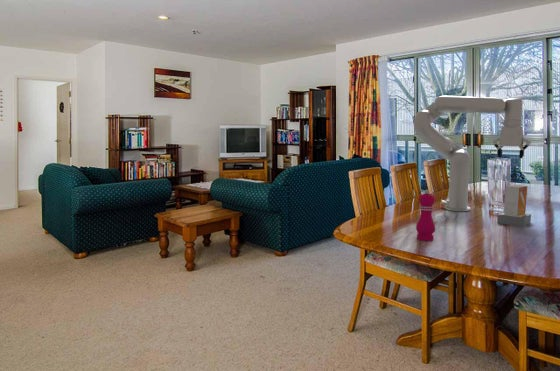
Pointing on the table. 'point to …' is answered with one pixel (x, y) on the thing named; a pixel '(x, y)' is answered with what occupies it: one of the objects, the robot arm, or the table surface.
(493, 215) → the table surface
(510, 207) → the small box
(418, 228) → the pepper mill
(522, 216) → the plinth
